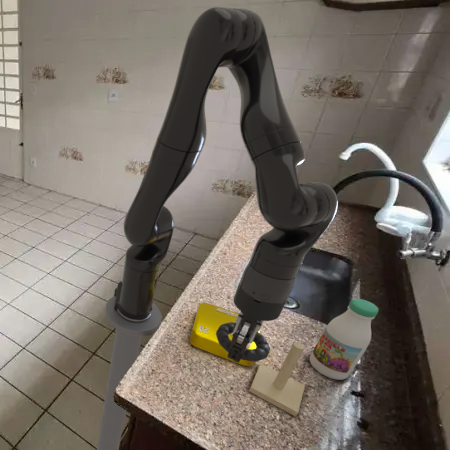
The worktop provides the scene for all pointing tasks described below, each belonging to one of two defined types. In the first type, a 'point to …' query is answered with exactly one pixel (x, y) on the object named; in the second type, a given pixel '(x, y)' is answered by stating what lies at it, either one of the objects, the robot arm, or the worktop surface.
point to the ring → (249, 355)
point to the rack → (280, 383)
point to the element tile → (214, 330)
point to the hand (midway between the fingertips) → (235, 354)
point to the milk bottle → (344, 340)
